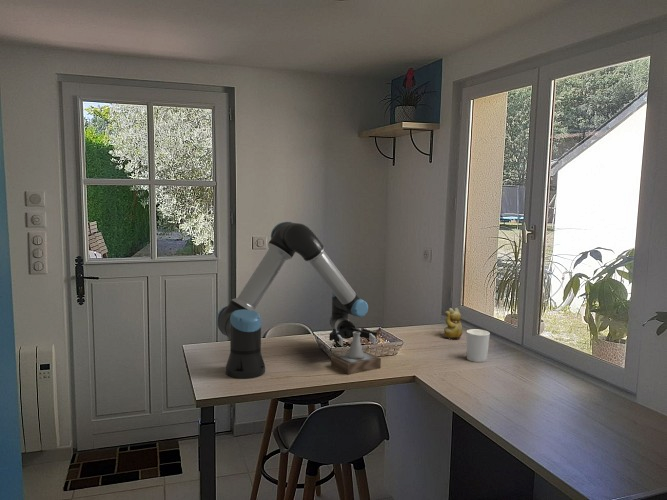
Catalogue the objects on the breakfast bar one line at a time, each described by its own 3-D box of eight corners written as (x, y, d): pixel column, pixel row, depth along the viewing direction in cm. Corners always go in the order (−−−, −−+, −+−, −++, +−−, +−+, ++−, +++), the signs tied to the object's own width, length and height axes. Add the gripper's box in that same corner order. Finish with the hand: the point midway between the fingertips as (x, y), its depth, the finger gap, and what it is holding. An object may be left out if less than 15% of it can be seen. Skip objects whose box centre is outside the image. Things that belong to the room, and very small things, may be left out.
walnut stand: (347, 374, 210) (348, 363, 210) (330, 366, 220) (331, 355, 220) (380, 368, 219) (380, 357, 219) (362, 360, 229) (363, 350, 228)
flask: (365, 354, 222) (365, 330, 221) (364, 359, 215) (365, 335, 214) (347, 353, 223) (348, 329, 222) (346, 358, 216) (347, 334, 215)
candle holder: (493, 361, 231) (494, 334, 230) (474, 363, 228) (475, 335, 226) (479, 355, 240) (480, 328, 239) (460, 357, 237) (461, 330, 236)
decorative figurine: (453, 335, 274) (454, 305, 273) (466, 338, 268) (468, 308, 267) (440, 337, 268) (442, 308, 267) (454, 341, 262) (455, 310, 260)
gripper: (372, 335, 239) (388, 349, 218) (316, 338, 233) (327, 352, 213) (372, 319, 238) (388, 331, 218) (317, 320, 233) (328, 333, 212)
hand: (358, 341), depth 215 cm, fingers open, 13 cm apart
